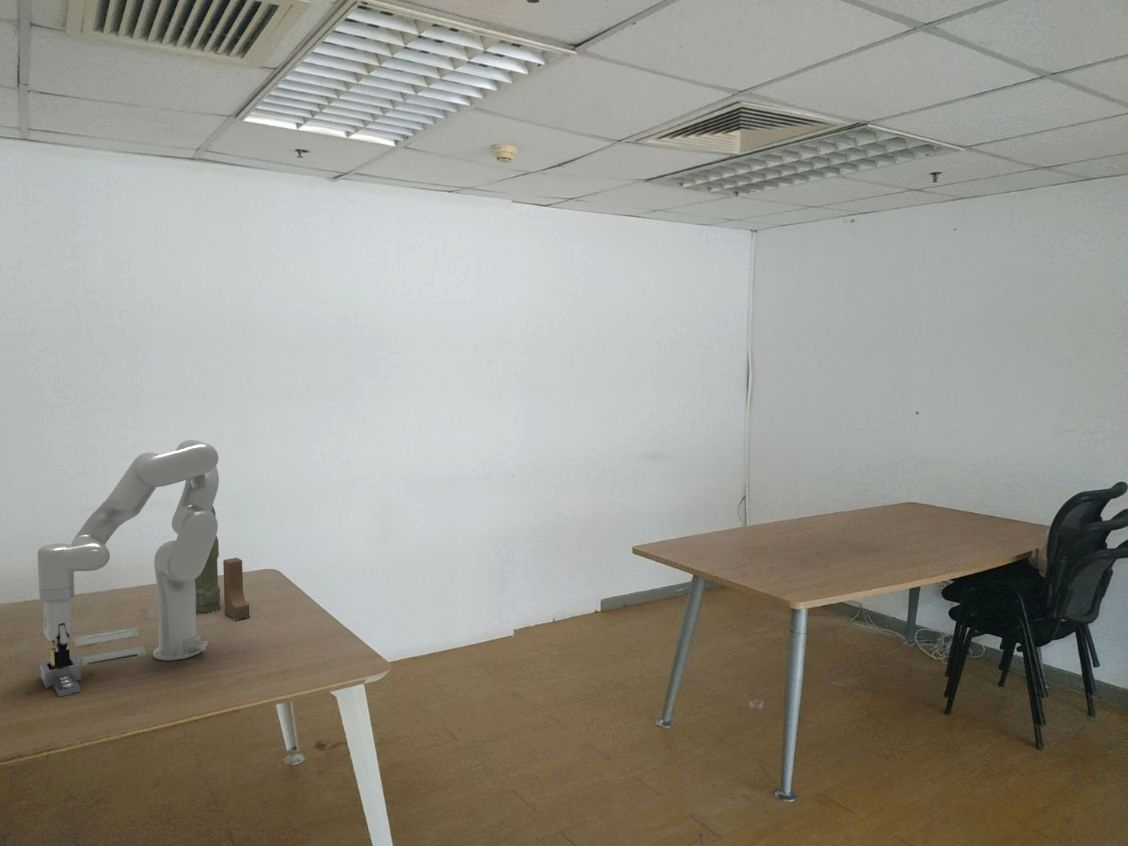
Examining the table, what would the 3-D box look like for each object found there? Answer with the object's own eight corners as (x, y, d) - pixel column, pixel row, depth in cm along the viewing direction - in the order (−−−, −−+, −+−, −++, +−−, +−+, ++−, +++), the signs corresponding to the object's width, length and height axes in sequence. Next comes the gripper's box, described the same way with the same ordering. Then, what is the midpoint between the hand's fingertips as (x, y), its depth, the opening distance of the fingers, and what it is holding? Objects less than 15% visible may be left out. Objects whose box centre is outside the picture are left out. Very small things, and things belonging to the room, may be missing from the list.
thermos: (198, 616, 246) (194, 508, 243) (185, 608, 255) (182, 503, 252) (226, 610, 252) (223, 505, 250) (212, 602, 261) (210, 500, 258)
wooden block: (250, 617, 246) (248, 562, 244) (235, 621, 243) (234, 565, 241) (238, 611, 252) (236, 557, 251) (224, 614, 249) (222, 559, 248)
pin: (77, 676, 200) (75, 639, 199) (60, 684, 195) (58, 646, 194) (61, 674, 201) (59, 637, 200) (44, 682, 196) (42, 644, 195)
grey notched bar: (87, 690, 192) (86, 674, 191) (51, 698, 187) (50, 682, 186) (69, 661, 209) (69, 647, 209) (36, 669, 204) (35, 654, 204)
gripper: (34, 588, 200) (37, 656, 201) (44, 604, 187) (48, 676, 189) (68, 582, 205) (71, 649, 206) (80, 597, 192) (84, 668, 194)
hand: (60, 661), depth 198 cm, fingers open, 5 cm apart
